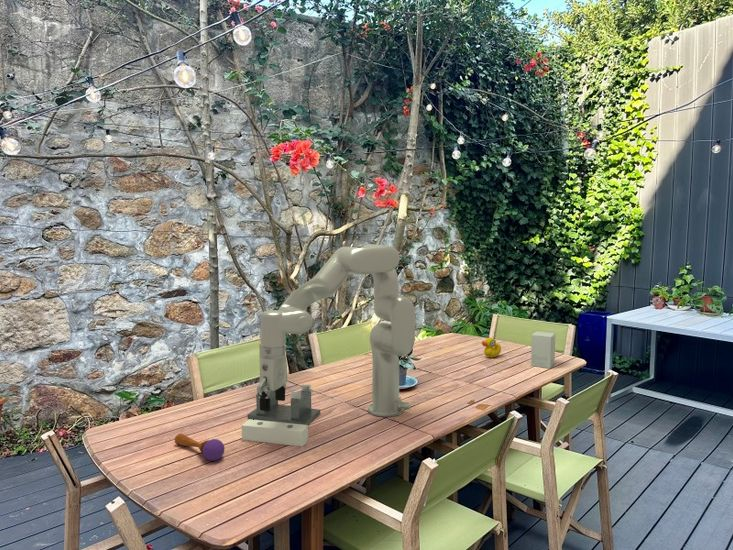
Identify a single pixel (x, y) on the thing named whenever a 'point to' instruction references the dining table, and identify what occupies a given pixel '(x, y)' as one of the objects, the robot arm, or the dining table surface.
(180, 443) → the purple maraca
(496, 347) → the duckling
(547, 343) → the supplement box
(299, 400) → the rack
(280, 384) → the robot arm
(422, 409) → the dining table surface
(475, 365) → the dining table surface
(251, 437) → the cream rectangular bar
